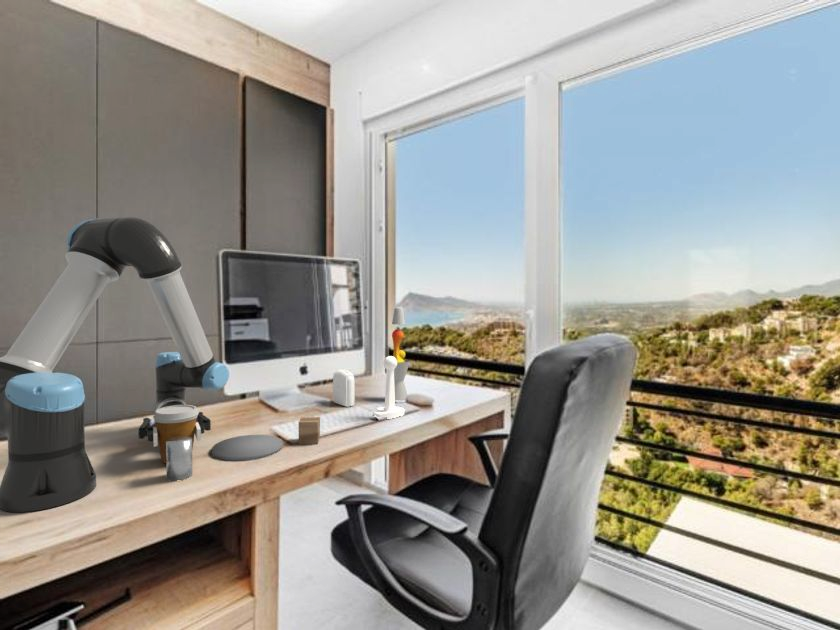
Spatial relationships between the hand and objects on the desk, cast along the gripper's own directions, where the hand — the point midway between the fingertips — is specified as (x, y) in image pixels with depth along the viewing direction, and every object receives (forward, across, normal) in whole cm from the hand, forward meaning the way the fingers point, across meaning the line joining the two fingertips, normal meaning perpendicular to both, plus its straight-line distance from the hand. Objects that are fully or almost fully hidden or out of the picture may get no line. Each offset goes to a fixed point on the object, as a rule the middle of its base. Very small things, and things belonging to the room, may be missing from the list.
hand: (177, 437), depth 105 cm
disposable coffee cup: (-5, 0, -7) cm, 8 cm away
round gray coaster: (-5, -16, -7) cm, 18 cm away
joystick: (-17, -62, -7) cm, 64 cm away
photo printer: (-39, -55, -7) cm, 68 cm away
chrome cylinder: (+6, 0, -7) cm, 9 cm away
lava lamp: (-34, -75, -7) cm, 83 cm away
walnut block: (-4, -32, -7) cm, 33 cm away
